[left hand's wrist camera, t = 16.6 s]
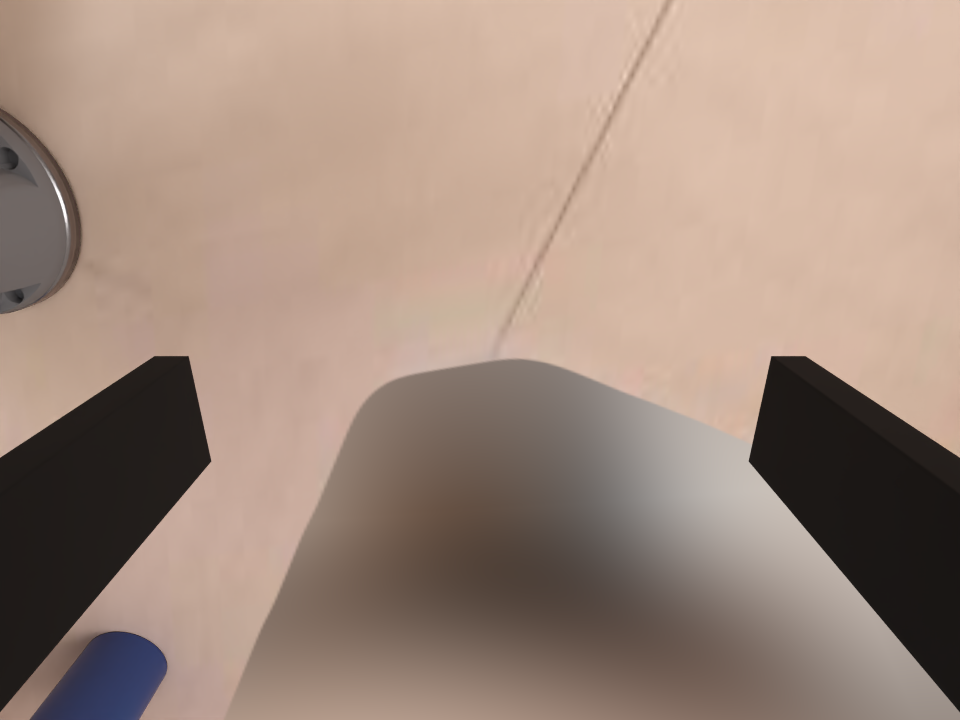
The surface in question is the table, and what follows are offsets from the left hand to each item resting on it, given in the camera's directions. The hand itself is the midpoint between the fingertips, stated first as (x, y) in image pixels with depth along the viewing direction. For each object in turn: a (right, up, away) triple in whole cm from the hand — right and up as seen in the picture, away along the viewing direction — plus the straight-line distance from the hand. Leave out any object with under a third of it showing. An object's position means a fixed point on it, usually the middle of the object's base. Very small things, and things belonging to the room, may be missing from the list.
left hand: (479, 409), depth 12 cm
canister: (-36, -30, +43) cm, 64 cm away
